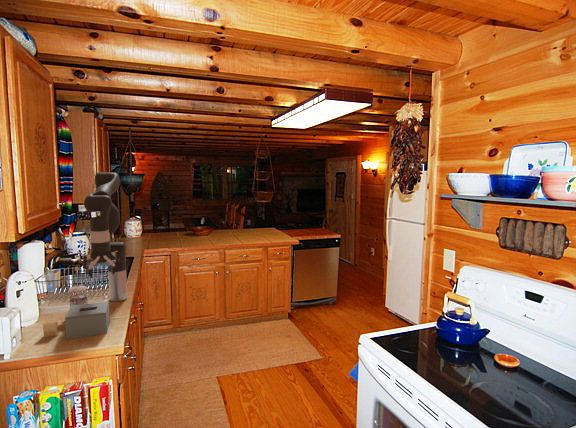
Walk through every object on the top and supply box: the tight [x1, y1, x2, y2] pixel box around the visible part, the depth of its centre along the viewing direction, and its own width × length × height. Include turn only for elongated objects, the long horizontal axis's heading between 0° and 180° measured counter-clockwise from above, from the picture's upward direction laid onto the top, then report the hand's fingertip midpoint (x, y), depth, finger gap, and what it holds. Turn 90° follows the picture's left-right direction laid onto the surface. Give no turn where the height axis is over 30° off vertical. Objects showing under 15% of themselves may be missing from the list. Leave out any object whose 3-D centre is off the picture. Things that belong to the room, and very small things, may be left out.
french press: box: [68, 267, 89, 308], centre depth 176 cm, size 10×12×25 cm
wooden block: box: [42, 320, 59, 338], centre depth 156 cm, size 2×5×6 cm, turn 112°
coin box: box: [64, 300, 111, 340], centre depth 162 cm, size 14×16×10 cm
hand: (102, 275), depth 155 cm, fingers open, 8 cm apart
